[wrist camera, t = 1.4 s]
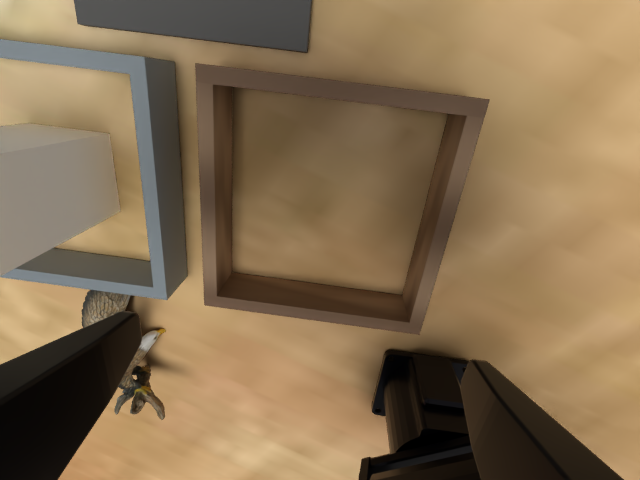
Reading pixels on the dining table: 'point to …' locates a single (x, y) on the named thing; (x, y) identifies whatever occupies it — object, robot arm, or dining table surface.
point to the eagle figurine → (109, 304)
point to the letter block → (51, 188)
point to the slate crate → (156, 175)
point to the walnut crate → (310, 297)
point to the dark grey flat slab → (207, 20)
